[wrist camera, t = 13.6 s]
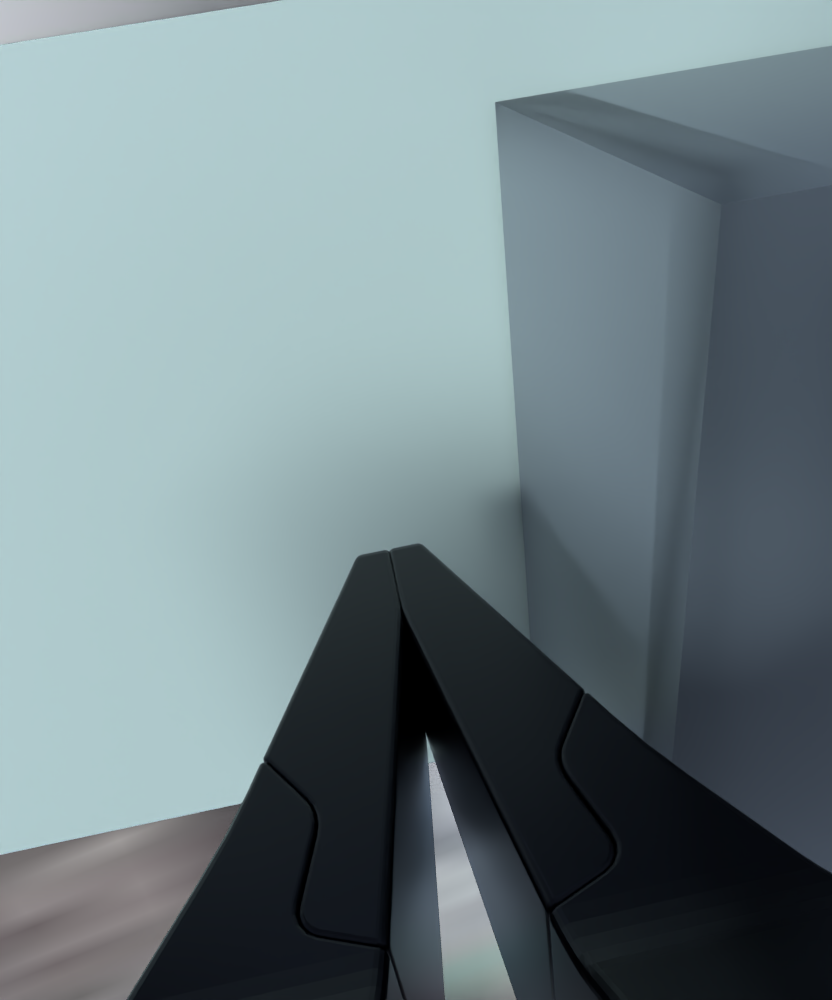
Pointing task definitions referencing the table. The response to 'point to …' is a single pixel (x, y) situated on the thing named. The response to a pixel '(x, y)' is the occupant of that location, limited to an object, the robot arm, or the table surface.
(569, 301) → the cover
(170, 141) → the board
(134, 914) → the table surface
